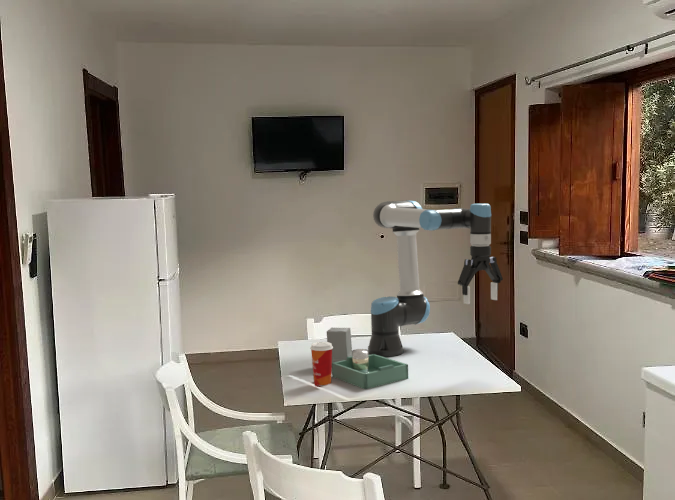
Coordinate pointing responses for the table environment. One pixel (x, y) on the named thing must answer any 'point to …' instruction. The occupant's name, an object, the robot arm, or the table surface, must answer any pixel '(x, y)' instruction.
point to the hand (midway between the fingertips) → (480, 301)
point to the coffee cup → (322, 362)
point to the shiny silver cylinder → (360, 360)
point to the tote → (371, 372)
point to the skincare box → (340, 343)
